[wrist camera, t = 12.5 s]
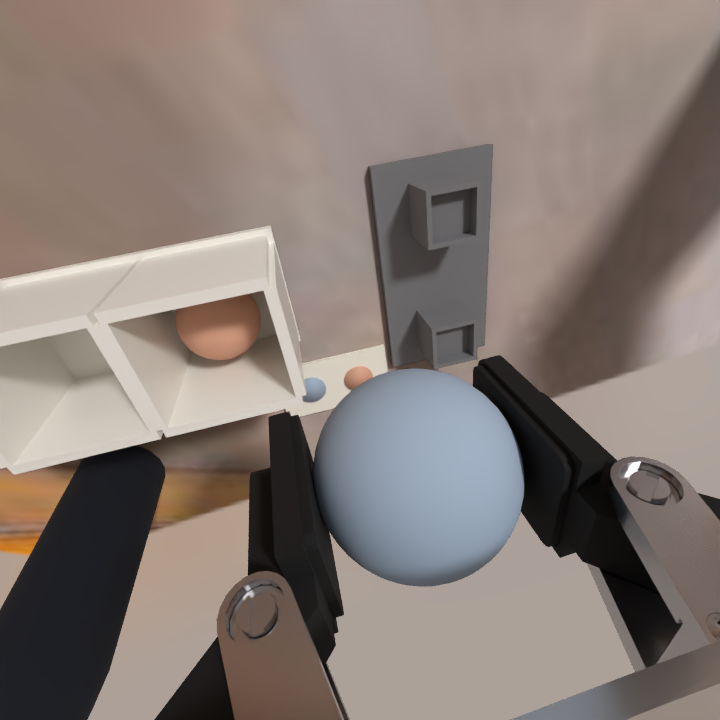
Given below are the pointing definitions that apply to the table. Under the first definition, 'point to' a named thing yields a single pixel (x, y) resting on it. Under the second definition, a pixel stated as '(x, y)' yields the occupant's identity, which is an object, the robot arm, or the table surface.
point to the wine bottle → (77, 588)
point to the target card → (338, 378)
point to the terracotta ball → (219, 327)
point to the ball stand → (434, 253)
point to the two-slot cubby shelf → (138, 350)
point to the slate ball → (418, 477)
